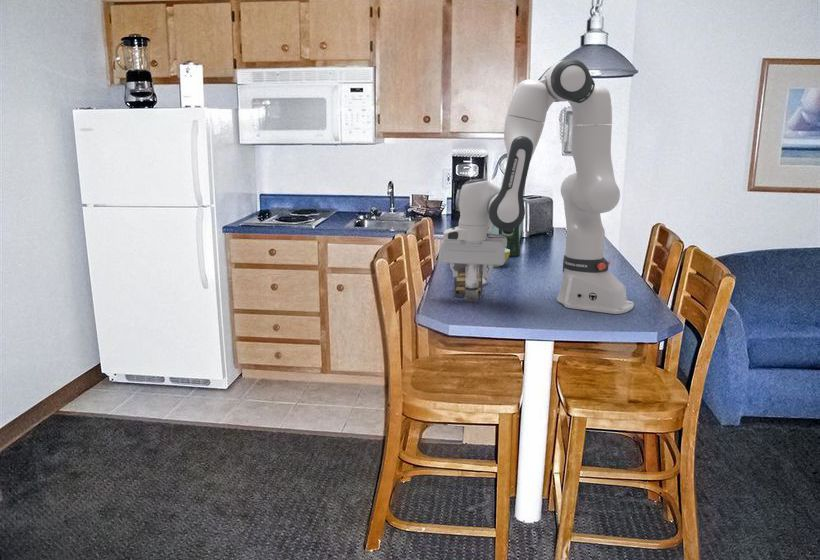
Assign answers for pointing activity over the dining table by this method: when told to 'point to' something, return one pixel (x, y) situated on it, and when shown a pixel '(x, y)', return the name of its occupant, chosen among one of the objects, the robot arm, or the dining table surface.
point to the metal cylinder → (471, 282)
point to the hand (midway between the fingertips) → (470, 277)
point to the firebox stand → (460, 281)
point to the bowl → (505, 256)
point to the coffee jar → (512, 240)
